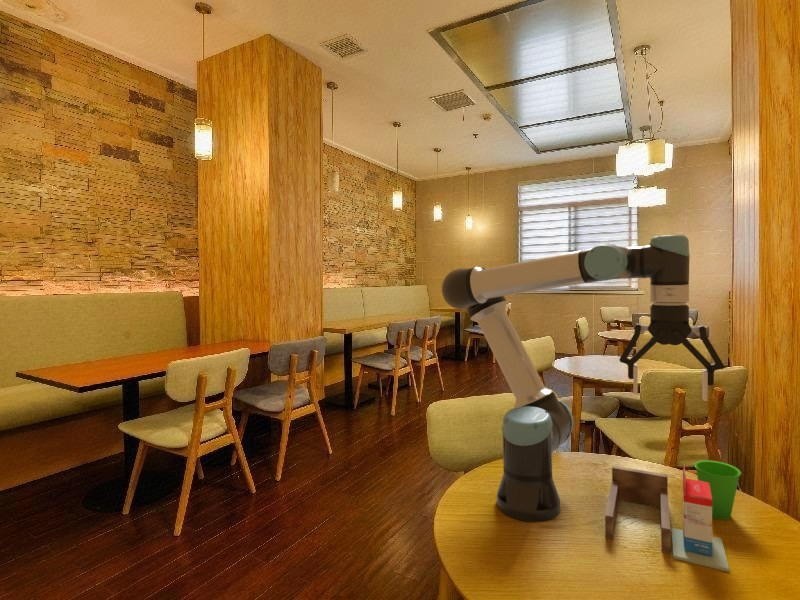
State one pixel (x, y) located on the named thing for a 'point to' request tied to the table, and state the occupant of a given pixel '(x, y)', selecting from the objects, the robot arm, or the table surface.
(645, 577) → the table surface
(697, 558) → the pad
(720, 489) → the cup
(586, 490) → the table surface
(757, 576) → the table surface
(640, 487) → the slot
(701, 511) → the ink box
